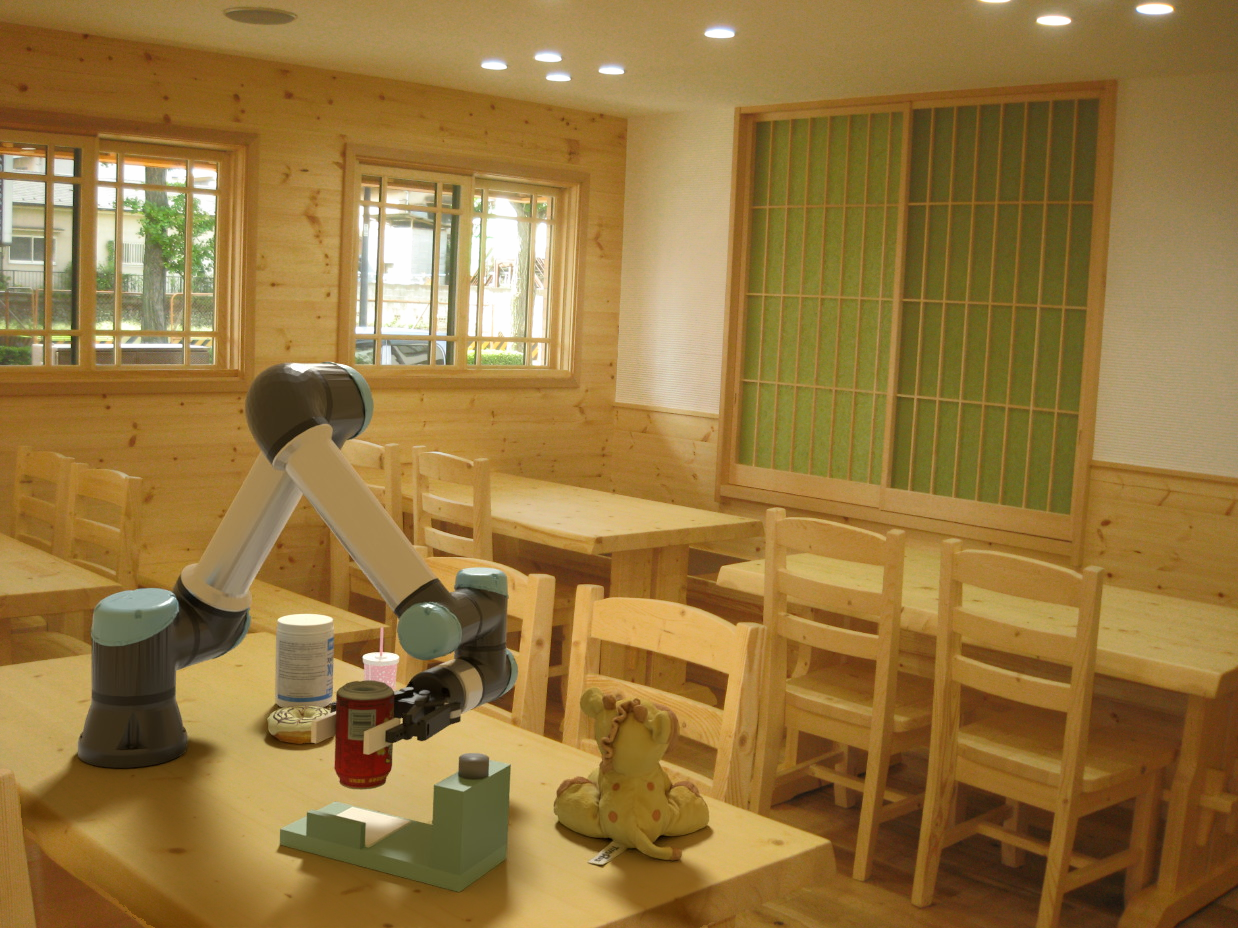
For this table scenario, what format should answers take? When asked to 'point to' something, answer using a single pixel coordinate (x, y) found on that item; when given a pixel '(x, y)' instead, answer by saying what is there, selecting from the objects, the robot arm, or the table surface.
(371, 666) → the beverage cup
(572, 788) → the giraffe plush
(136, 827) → the table surface
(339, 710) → the soda can
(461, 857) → the green stepped fixture
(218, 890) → the table surface
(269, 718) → the decorated donut
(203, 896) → the table surface
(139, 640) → the robot arm
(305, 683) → the supplement tub
